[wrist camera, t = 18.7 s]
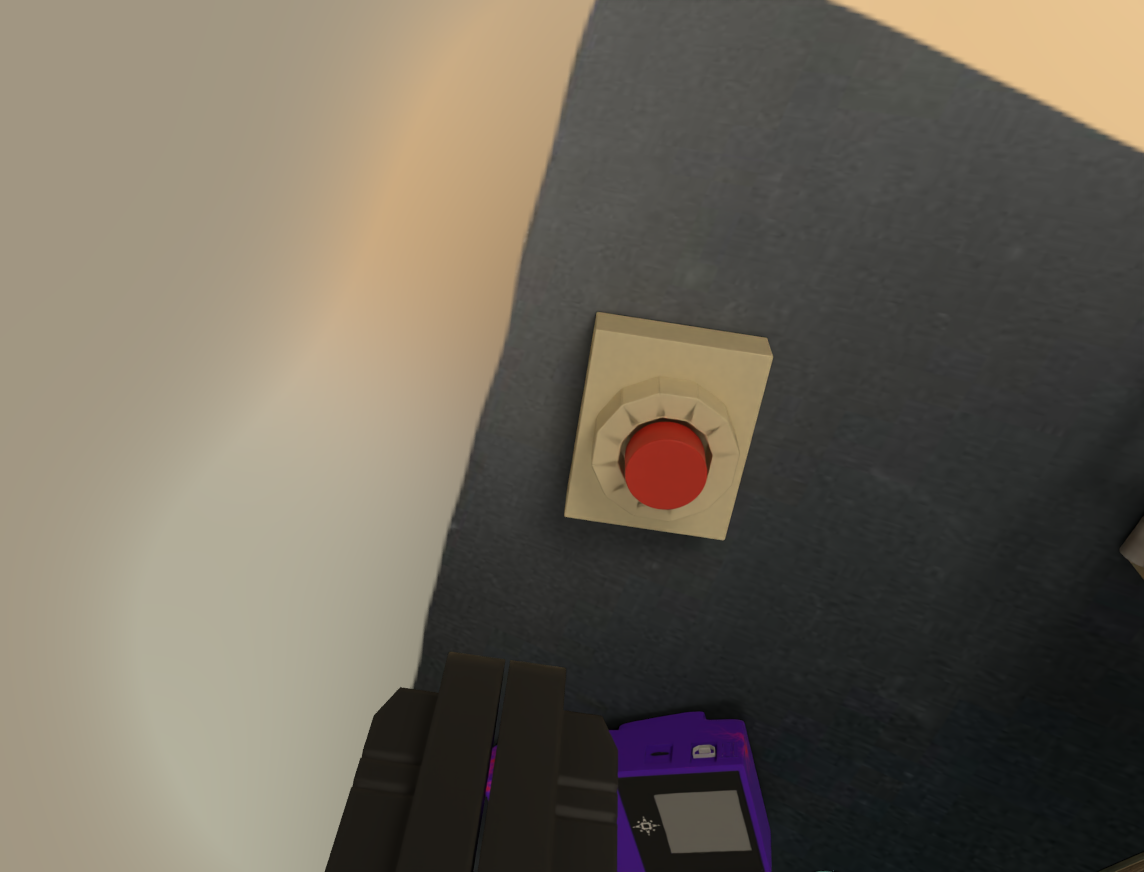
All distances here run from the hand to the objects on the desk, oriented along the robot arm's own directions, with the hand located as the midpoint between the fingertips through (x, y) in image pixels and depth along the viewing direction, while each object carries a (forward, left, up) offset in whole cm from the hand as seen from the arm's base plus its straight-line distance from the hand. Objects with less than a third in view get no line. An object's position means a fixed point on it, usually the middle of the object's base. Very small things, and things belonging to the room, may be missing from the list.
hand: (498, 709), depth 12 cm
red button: (+12, +5, -29) cm, 32 cm away
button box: (+12, +6, -33) cm, 36 cm away
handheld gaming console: (+36, +8, -33) cm, 50 cm away
